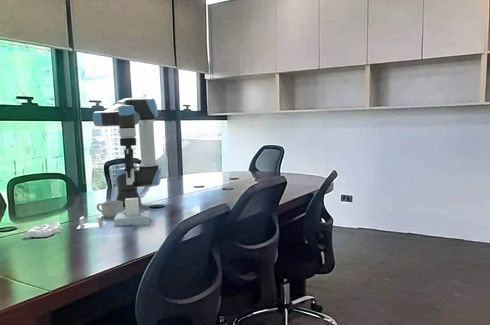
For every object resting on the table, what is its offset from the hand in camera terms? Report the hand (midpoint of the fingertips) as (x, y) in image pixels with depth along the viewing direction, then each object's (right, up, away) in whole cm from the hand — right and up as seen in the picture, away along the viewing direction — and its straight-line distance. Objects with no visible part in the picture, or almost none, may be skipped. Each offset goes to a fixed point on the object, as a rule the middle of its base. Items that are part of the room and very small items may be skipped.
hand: (130, 183), depth 194 cm
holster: (-18, -21, -4) cm, 27 cm away
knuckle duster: (-35, -23, -13) cm, 44 cm away
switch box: (+1, -20, +2) cm, 20 cm away
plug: (+1, -20, +2) cm, 20 cm away
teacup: (-15, -19, +16) cm, 29 cm away
